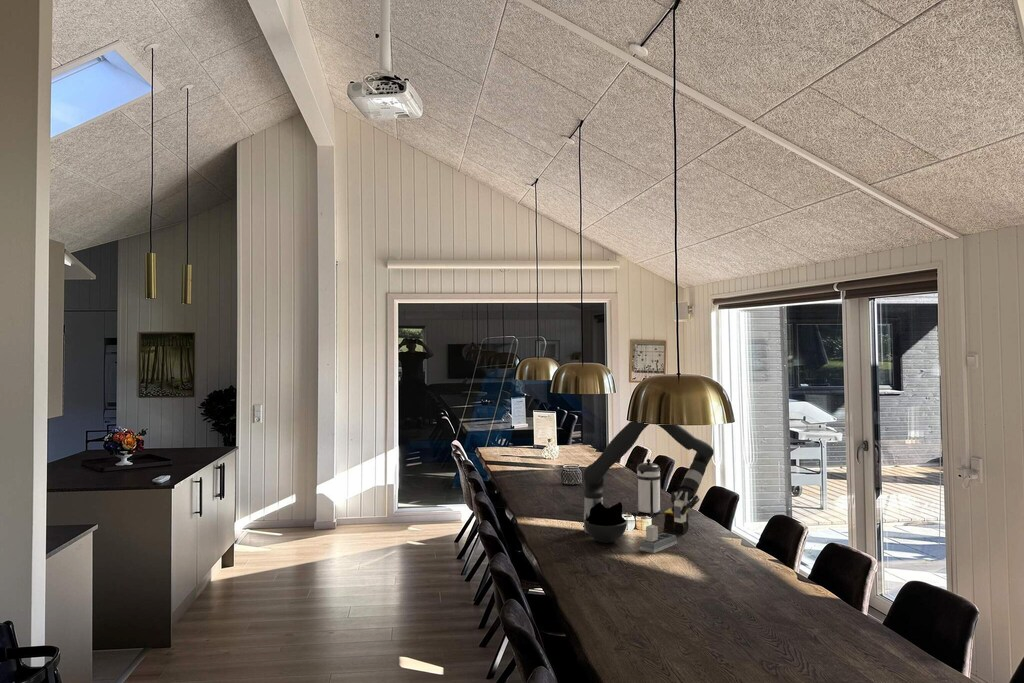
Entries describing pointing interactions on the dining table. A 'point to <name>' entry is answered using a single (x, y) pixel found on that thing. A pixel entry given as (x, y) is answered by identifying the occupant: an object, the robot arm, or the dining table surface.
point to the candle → (675, 523)
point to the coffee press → (648, 488)
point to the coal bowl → (605, 523)
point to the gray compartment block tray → (656, 540)
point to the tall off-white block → (677, 509)
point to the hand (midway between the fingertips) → (677, 513)
